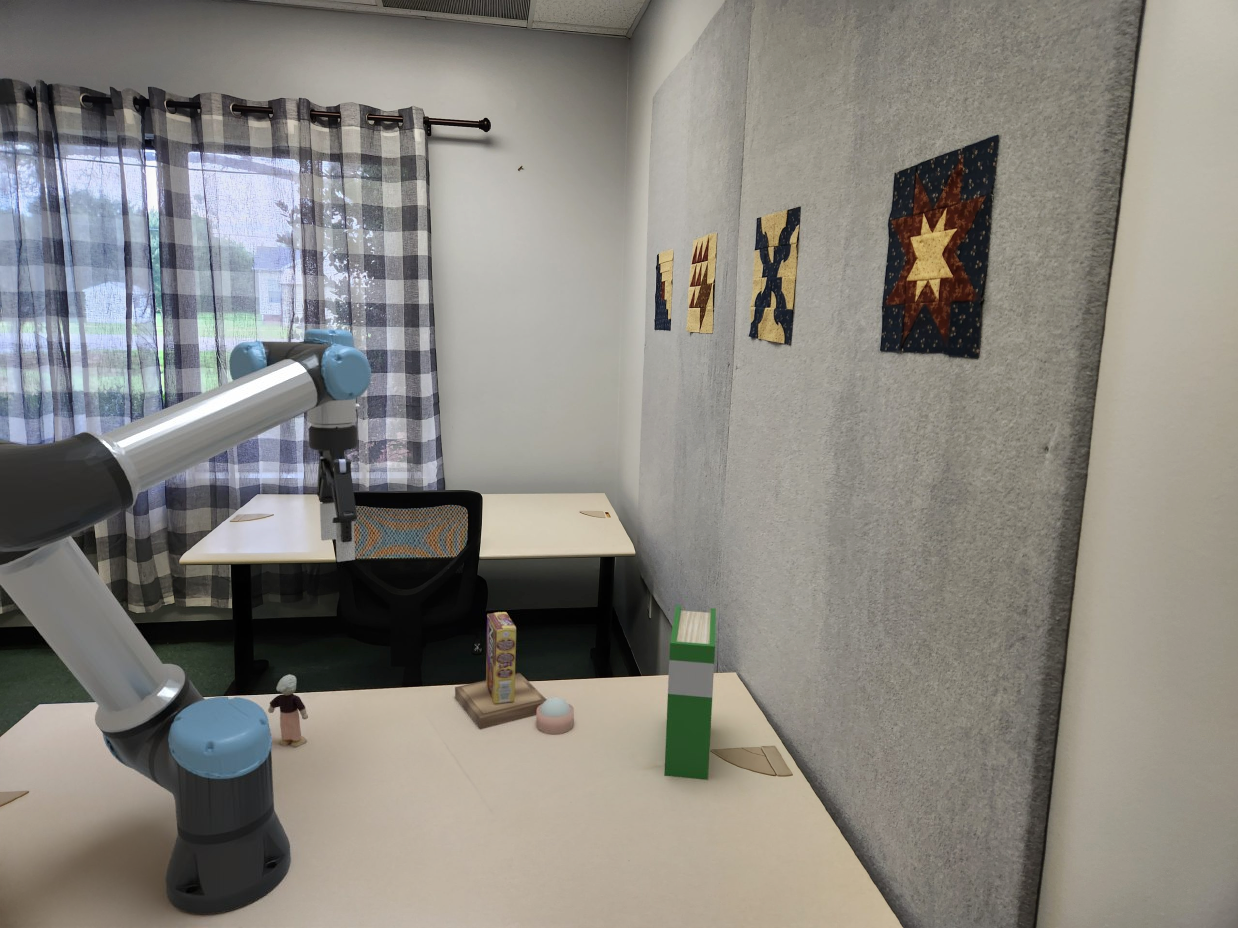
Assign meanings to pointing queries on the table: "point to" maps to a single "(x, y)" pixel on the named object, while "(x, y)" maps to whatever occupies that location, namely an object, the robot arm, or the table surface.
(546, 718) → the pincushion
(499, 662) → the candy box
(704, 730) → the hardback book
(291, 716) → the grandmother figurine
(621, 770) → the table surface
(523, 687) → the brown tray
